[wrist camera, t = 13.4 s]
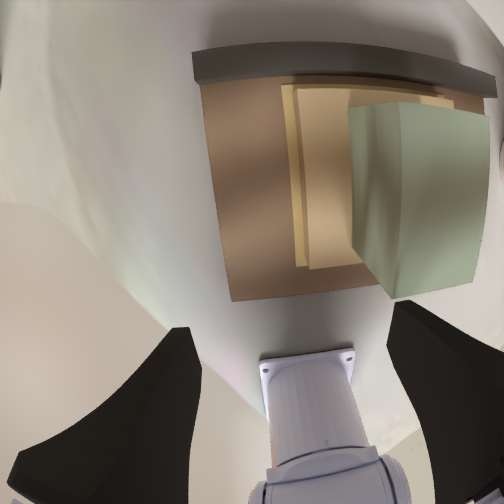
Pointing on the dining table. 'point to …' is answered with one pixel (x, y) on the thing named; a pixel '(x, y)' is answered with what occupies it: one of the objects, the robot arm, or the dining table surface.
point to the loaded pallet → (392, 185)
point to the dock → (294, 147)
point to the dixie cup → (502, 162)
